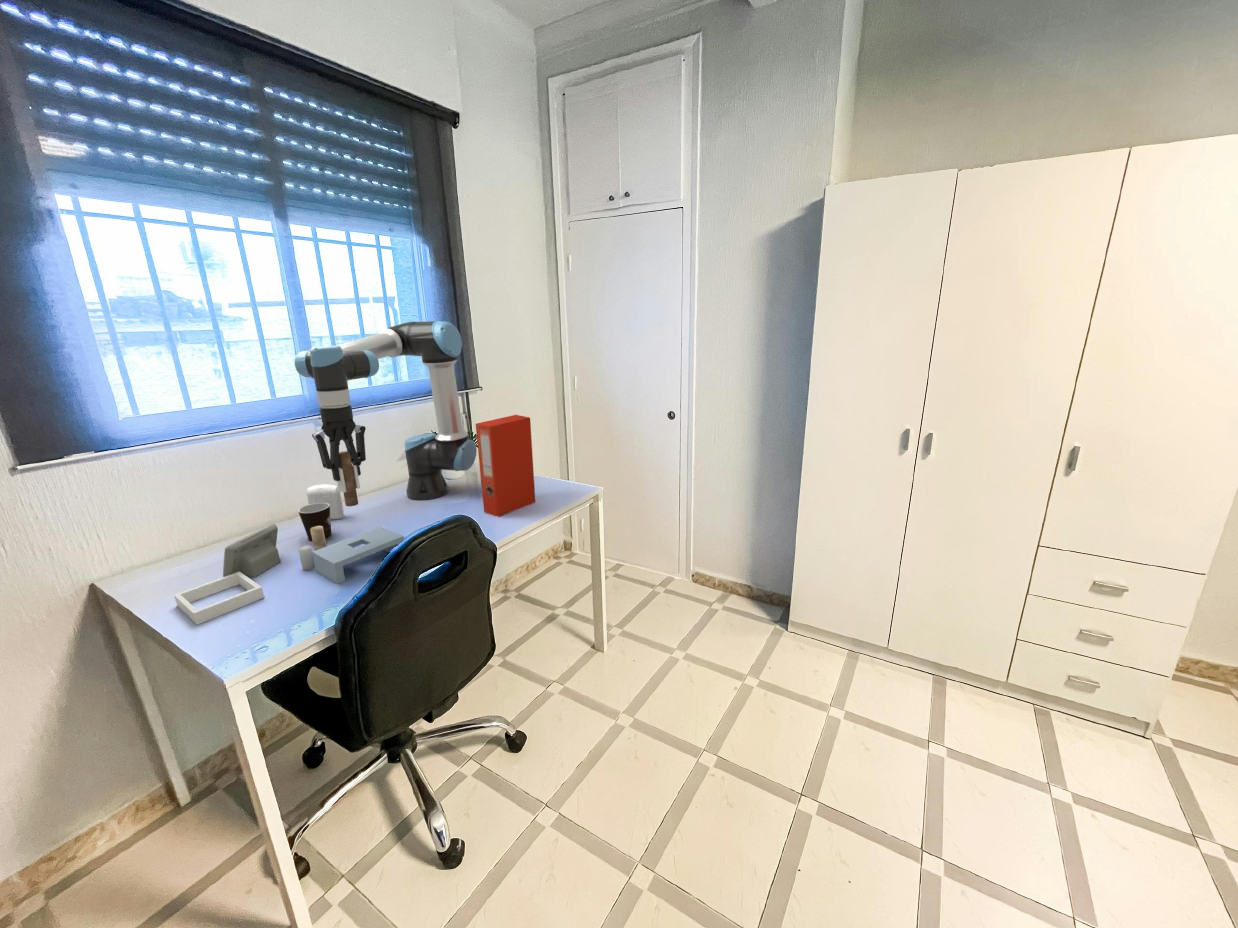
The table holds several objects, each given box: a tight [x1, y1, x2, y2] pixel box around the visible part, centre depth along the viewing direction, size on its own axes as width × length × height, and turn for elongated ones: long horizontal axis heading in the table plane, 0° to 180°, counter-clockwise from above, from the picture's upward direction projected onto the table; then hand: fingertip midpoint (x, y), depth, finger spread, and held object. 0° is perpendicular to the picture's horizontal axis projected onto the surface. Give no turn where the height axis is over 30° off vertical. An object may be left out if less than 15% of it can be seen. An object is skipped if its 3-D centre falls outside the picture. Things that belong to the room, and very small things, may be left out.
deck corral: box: [173, 572, 265, 625], centre depth 129 cm, size 14×14×3 cm
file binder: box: [475, 414, 536, 517], centre depth 181 cm, size 8×17×32 cm, turn 141°
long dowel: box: [339, 450, 359, 507], centre depth 143 cm, size 3×3×15 cm
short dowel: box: [297, 545, 315, 571], centre depth 144 cm, size 3×3×6 cm
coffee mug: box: [297, 503, 332, 542], centre depth 164 cm, size 12×9×10 cm
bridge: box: [312, 526, 405, 585], centre depth 146 cm, size 20×12×6 cm, turn 144°
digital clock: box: [222, 523, 281, 578], centre depth 144 cm, size 16×9×11 cm, turn 157°
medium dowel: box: [310, 526, 328, 551], centre depth 150 cm, size 3×3×9 cm
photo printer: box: [306, 483, 345, 520], centre depth 177 cm, size 10×4×12 cm, turn 98°
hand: (349, 489), depth 143 cm, fingers closed on long dowel, 3 cm apart
